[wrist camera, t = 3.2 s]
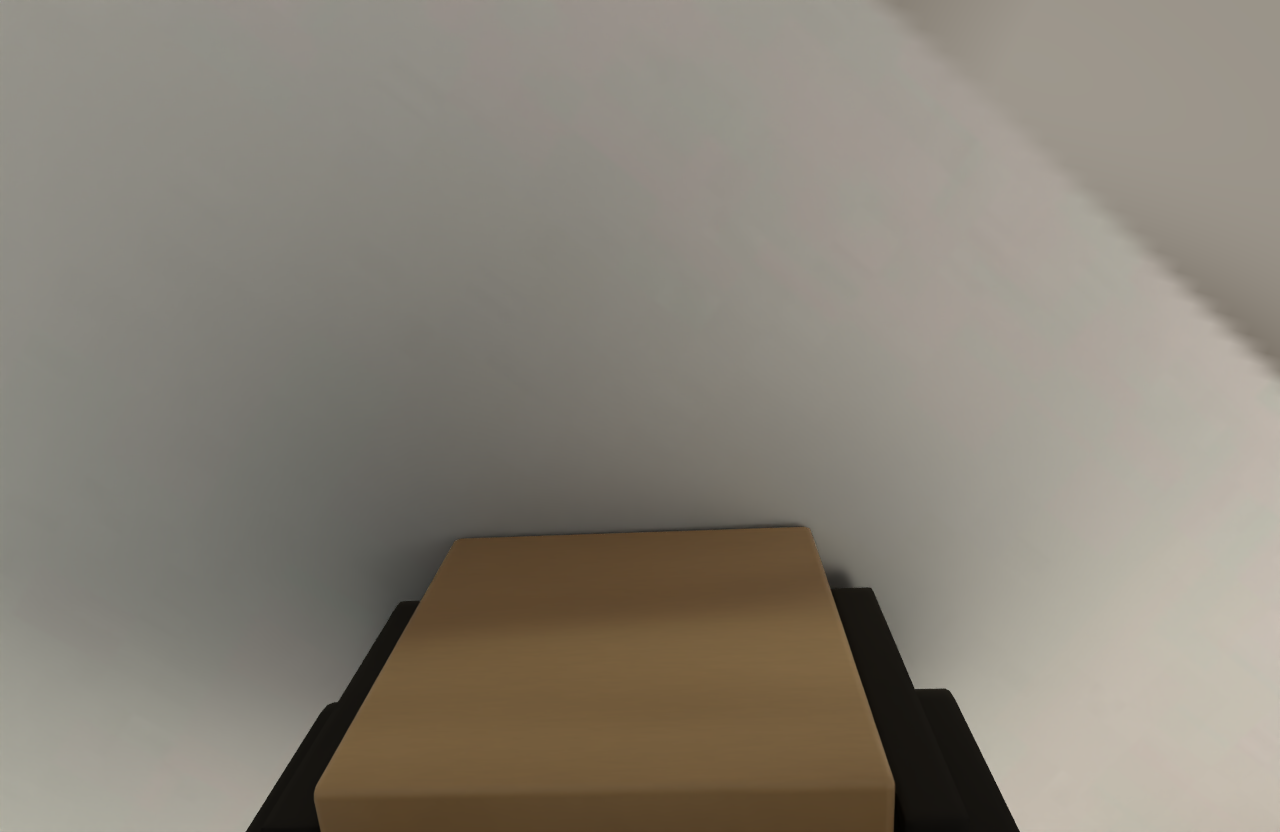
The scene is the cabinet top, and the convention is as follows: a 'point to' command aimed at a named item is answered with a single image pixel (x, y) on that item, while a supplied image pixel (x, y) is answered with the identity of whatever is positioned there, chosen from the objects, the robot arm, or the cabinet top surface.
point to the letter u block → (617, 695)
